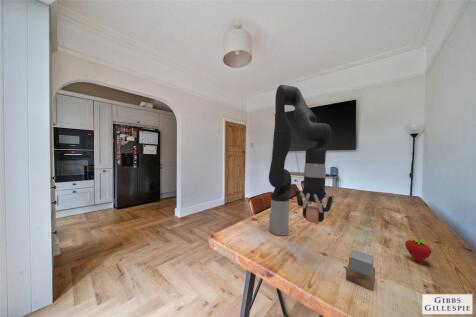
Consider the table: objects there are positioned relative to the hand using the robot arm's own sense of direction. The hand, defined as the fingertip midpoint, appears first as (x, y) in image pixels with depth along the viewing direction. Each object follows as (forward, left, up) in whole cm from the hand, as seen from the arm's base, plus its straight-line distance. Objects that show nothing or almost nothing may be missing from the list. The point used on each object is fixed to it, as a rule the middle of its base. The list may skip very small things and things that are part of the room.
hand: (312, 219), depth 68 cm
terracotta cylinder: (0, 0, 0) cm, 0 cm away
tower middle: (+16, 0, -12) cm, 20 cm away
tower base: (+15, 0, -16) cm, 22 cm away
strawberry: (+30, +27, -16) cm, 44 cm away
